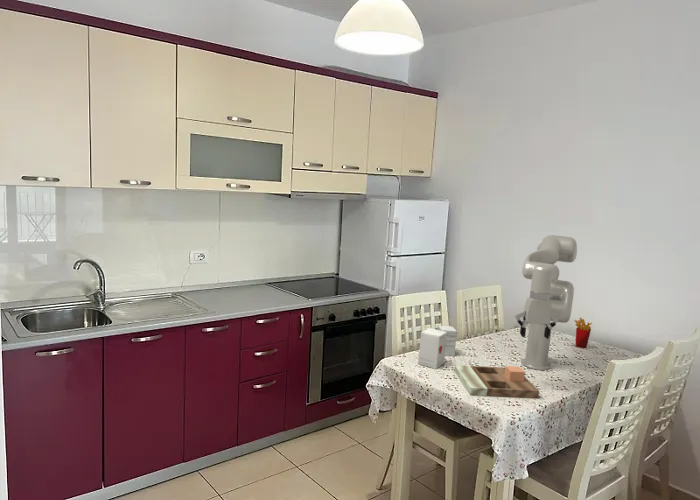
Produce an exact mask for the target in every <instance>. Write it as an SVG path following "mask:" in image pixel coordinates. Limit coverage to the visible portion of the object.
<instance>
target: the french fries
mask: <svg viewBox="0 0 700 500" xmlns="http://www.w3.org/2000/svg"><path fill="white" fill-rule="evenodd" d="M574 322H575V324H574V325H575V326H576V328H575V348H580V349H584V348H588V344H589V339H590V335H591V330H592V327H591V325H592V324H593V323H592V322H587V324H586V321H585V318H584V319H583V318H582V317H579V319H578V320H576V319H574Z"/></svg>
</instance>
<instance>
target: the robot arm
mask: <svg viewBox="0 0 700 500" xmlns="http://www.w3.org/2000/svg"><path fill="white" fill-rule="evenodd" d="M577 252H578V245H577V241H576V240H575V238H573V237H571V236H570V237H569V236H564V235H563V236H562V235H555V234H553V235H547V236H545V237H543V239H542V240H541V242H540V243H539V244H538V245H537V247H536V250H535V251H533V252H531V253H529V254H527V256H526V258H525V260H524V262H523V265H522V270H521V273H522V276H523V278H525V279H527V280H531V283H530V292H529V297H526V301H525V303H524V308H523V311H522V312H520V313H517V314H516V315H515V319H516V322H517V324H519V326H520V328H519V334H520V336H521V337H522V338H525V337H526V333H528V335H527V342H526V350H525V357H524V358H523V359H521V361H520V363H521V364H522V365H523V366H524V367H526V368H529V369H533V370H538V371H547V370H550V369H551V364H559V363H558V362H559V360H558V358H553V357H549V350H550V342H551V335H552V329H553V328H554V327H555V326H556V325H557V323H562V324H563V323H564V324H565V323H568V322H569V321H570V320H571V319H570V318H571V316H572V309H573V302H574V291H575V288H574V284H573V283H572V282H570V281H567V280H563V279H562V280H561V279H559V277H560V269H559V267H558V266H557V265H556V263H557V262H563V263H573V262H574V261H575V260H576V259H577V255H578V253H577ZM521 318H522V321H521ZM528 324H529V326H528V332H526V331H527V327H526V326H527V325H528Z"/></svg>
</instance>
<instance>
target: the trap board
mask: <svg viewBox="0 0 700 500" xmlns="http://www.w3.org/2000/svg"><path fill="white" fill-rule="evenodd" d="M504 373H505V367H503V366H502V367H501V366H500V367H499V366H498V367H497V366H479V365H478V366H477V365H459V364H454V374H455V375H456V376H457V378H458V379H459V381H460V383H462V385H463V387H464V388H465V390H466V391H467V393H468V394H469V396H479V397H500V398H502V397H503V398H520V399H521V398H522V399H524V398H525V399H539V395H540V390H539V389H537V387H536V386H535V385H534V384H533V382H531V381H530V380H529V379H528V378H527V377H526V376H525V377H524V382H522V381H509V380H508V379H507V378H506V377H505V375H504Z"/></svg>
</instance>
